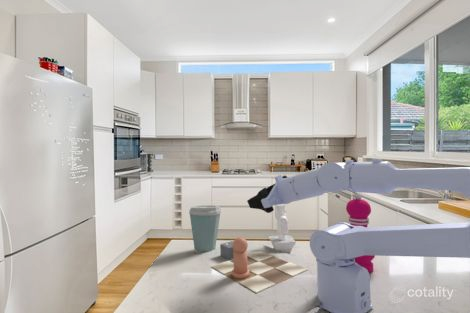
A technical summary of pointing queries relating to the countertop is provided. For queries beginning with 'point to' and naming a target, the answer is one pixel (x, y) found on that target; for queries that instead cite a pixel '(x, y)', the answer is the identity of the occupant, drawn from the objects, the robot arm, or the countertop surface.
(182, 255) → the countertop surface
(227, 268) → the board
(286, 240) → the figurine
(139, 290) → the countertop surface
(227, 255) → the die
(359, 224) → the pepper mill
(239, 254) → the pawn
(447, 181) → the robot arm
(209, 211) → the disposable coffee cup
